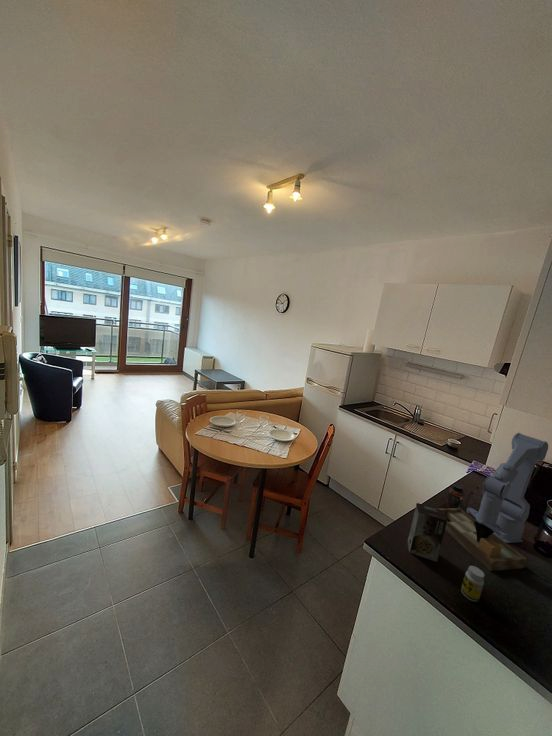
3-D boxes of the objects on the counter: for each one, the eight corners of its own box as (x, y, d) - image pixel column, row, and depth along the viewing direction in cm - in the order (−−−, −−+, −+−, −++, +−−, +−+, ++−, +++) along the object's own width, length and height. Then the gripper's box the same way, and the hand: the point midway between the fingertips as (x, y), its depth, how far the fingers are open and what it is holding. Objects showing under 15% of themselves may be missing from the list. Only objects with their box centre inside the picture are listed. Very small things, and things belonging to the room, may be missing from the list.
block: (487, 547, 107) (489, 537, 106) (498, 556, 102) (501, 547, 102) (477, 547, 106) (480, 538, 105) (489, 557, 101) (492, 547, 101)
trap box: (458, 515, 129) (460, 508, 129) (524, 567, 102) (527, 558, 102) (429, 516, 125) (431, 508, 125) (490, 571, 98) (493, 561, 98)
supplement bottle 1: (462, 513, 131) (468, 491, 129) (448, 510, 132) (454, 488, 130) (456, 506, 137) (462, 484, 135) (443, 502, 138) (449, 481, 136)
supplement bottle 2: (456, 587, 89) (463, 563, 88) (470, 588, 90) (477, 564, 89) (468, 602, 85) (475, 577, 83) (482, 602, 85) (490, 578, 84)
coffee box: (433, 550, 104) (443, 510, 102) (437, 562, 98) (448, 520, 96) (406, 540, 107) (416, 501, 105) (408, 552, 101) (419, 511, 99)
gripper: (464, 497, 111) (455, 528, 113) (500, 523, 97) (490, 558, 99) (478, 497, 113) (469, 528, 115) (516, 522, 99) (505, 557, 101)
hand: (480, 542), depth 107 cm, fingers closed
